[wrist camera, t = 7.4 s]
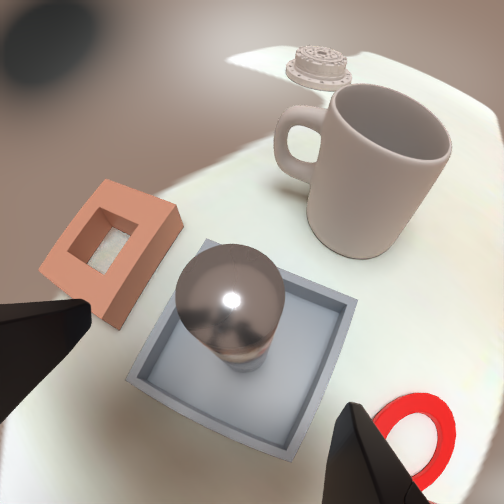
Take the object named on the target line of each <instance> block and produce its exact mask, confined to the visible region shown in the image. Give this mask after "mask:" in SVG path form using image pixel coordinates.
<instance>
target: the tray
mask: <svg viewBox="0 0 504 504" xmlns="http://www.w3.org/2000/svg"><path fill="white" fill-rule="evenodd" d="M218 245H221V244H219V243H217V242H214V241H212V240H209V239H207V238H206V240H205V242H204V243H203V245H202V246H201V248H200V250H199V251H198V253H197V255H198V254H199V253H201V252H203V251H205V250H207V249H209V248H211V247H214V246H218ZM197 255H196V256H197ZM277 269H278V270H279V272H280V274H281V276H282V279H283V282H284V287H285V304H284V308H283V312H282V315H281V318H280V320H279V323H278V326H277V329H276V332H275V335H274V338H273V340H272V343H271V346H270V349H269V352H268V354H267V357H266V359H265V361H264V363H263V364H262V366H260V367H259V368H258V369H256V370H255V371H252V372H247V373H242V372H237V371H235V370H233V369H231V368H230V367H229V366H228V365H226V364H225V363H224V362H223V361H222V360H220V359H219V358H218V357H217V356H216V355H215V354H213V353H212V352H211V351H210V350H209V349H208V348H207V347H205V346H204V345H203V344H202V343H201V342H200V341H199V340H198V339H196V338H195V337H194V336H193V335H192V334H191V333H190V332H189V331H188V330H187V329H186V328H185V326H184V325H183V323H182V322H181V320H180V317H179V315H178V312H177V309H176V303H175V292H176V290H175V291H174V293H173V295H172V296H171V298H170V300H169V302H168V303H167V305H166V307H165V308H164V310H163V312H162V314H161V315H160V317H159V319H158V321H157V322H156V324H155V326H154V328H153V330H152V331H151V333H150V335H149V337H148V338H147V340H146V342H145V344H144V346H143V347H142V349H141V351H140V353H139V355H138V357H137V358H136V360H135V362H134V364H133V366H132V368H131V370H130V371H129V373H128V375H127V377H126V379H125V381H127V382H128V383H130V384H131V385H133V386H135V387H136V388H138V389H139V390H141V391H142V392H144V393H145V394H147V395H149V396H150V397H152V398H154V399H155V400H157V401H159V402H160V403H162V404H164V405H165V406H167V407H169V408H171V409H172V410H174V411H176V412H178V413H180V414H181V415H183V416H185V417H187V418H189V419H191V420H193V421H195V422H197V423H199V424H200V425H202V426H204V427H206V428H209V429H211V430H213V431H215V432H217V433H219V434H221V435H223V436H225V437H228V438H230V439H232V440H234V441H237V442H239V443H241V444H244V445H246V446H248V447H251V448H253V449H256V450H258V451H261V452H264V453H266V454H269V455H271V456H274V457H277V458H280V459H283V460H285V461H288V462H292V460H293V459H294V457H295V455H296V453H297V451H298V449H299V447H300V445H301V443H302V441H303V439H304V437H305V435H306V432H307V430H308V428H309V426H310V424H311V422H312V420H313V417H314V415H315V413H316V411H317V409H318V406H319V404H320V402H321V399H322V397H323V395H324V392H325V390H326V387H327V385H328V383H329V380H330V378H331V375H332V373H333V370H334V367H335V365H336V362H337V360H338V357H339V354H340V352H341V349H342V346H343V343H344V341H345V338H346V335H347V332H348V329H349V326H350V323H351V320H352V317H353V314H354V311H355V308H356V305H357V301H358V300H357V299H354V298H352V297H349V296H347V295H345V294H342V293H340V292H337V291H335V290H332V289H330V288H327V287H325V286H322V285H320V284H317V283H315V282H312V281H310V280H307V279H305V278H302V277H300V276H298V275H295V274H293V273H290V272H288V271H285V270H283V269H280V268H278V267H277Z"/></svg>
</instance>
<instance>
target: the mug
mask: <svg viewBox="0 0 504 504" xmlns="http://www.w3.org/2000/svg"><path fill="white" fill-rule="evenodd" d="M295 125H300V126H305V127H308V128H310V129H312V130H314V131H316V132H318V133H319V134H320V135H321V145H320V150H319V155H318V159H317V162H315V163H309V162H304V161H301V160H298V159H296V158H295V157H293V156H292V155H291V153H290V152H289V149H288V146H287V137H288V132H289V130H290V128H291V127H293V126H295ZM451 151H452V143H451V139H450V136H449V134H448V132H447V130H446V128H445V127H444V125H443V124H442V123H441V122H440V120H439V119H438V118H437V117H436V116H435V115H434V114H433V113H432V112H431V111H429V110H428V109H427V108H426V107H424V106H423V105H422V104H420V103H419V102H417V101H416V100H414V99H412V98H410V97H409V96H407V95H405V94H402V93H400V92H398V91H395V90H393V89H390V88H386V87H383V86H378V85H373V84H350V85H346V86H343V87H341V88H339V89H338V90H337V91H336V92H335V93H334V94H333V96H332V97H331V100H330V104H329V107H328V109H324V108H318V107H313V106H306V105H296V106H292V107H289V108H288V109H286V110H285V111H284V112H283V113H282V115H281V116H280V118H279V120H278V123H277V125H276V129H275V133H274V155H275V159H276V162H277V164H278V166H279V168H280V169H281V170H282V171H283V172H284V173H286V174H287V175H289V176H291V177H293V178H296V179H298V180H301V181H304V182H306V183H309V184H310V185H311V186H310V192H309V196H308V201H307V217H308V221H309V224H310V226H311V228H312V230H313V232H314V233H315V235H316V236H317V237H318V239H319V240H320V241H321V242H322V243H323V244H325V245H326V246H327V247H328V248H330V249H331V250H333V251H335V252H336V253H339V254H341V255H344V256H347V257H351V258H357V259H367V258H372V257H376V256H378V255H380V254H382V253H384V252H385V251H386V250H388V249H389V248H390V247H391V246H392V244H393V243H394V242H395V241H396V239H397V238H398V236H399V235H400V233H401V232H402V230H403V229H404V227H405V226H406V224H407V223H408V222H409V220H410V219H411V217H412V216H413V214H414V213H415V212H416V210H417V209H418V207H419V206H420V204H421V203H422V201H423V200H424V198H425V197H426V195H427V194H428V192H429V191H430V189H431V188H432V186H433V184H434V183H435V181H436V180H437V178H438V177H439V175H440V173H441V172H442V170H443V168H444V167H445V165H446V163H447V162H448V160H449V158H450V155H451Z"/></svg>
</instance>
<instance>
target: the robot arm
mask: <svg viewBox="0 0 504 504" xmlns="http://www.w3.org/2000/svg"><path fill="white" fill-rule="evenodd" d="M91 323H92V318H91V305H90V303H89V302H87V301H85V300H84V299H68V300H56V301H43V302H30V303H15V304H0V424H1V423H2V422H3V421H4V420H5V419H6V418H7V417H8V415H9V414H10V413H11V412H12V411H13V410H14V409H15V408H16V407H17V406H18V405H19V404H20V403H21V402H22V401H23V399H24V398H25V397H26V396H27V395H28V394H29V393H30V392H31V391H32V390H33V389H34V388H35V387H36V386H37V385H38V384H39V383H40V382H41V381H42V380H43V379H44V378H45V377H46V376H47V375H48V374H49V373H50V372H51V371H52V370H53V369H54V368H55V367H56V366H57V365H58V364H59V363H60V362H61V361H62V360H63V359H64V358H65V357H66V356H67V355H68V354H69V352H70V351H71V350H72V349H73V348H74V346H75V345H76V344H77V343H78V342H79V340H80V339H81V338H82V337H83V336H84V334H85V333H86V332H87V331H88V330H89V328H90V327H91ZM322 504H430V502H429V501H428V500H427V499H426V497H425V496H424V494H423V493H422V492H421V490H420V489H419V487H418V486H417V485H416V483H415V482H414V481H413V479H412V477H411V476H410V474H409V473H408V472H407V470H406V469H405V467H404V466H403V464H402V463H401V461H400V460H399V458H398V457H397V456H396V454H395V453H394V451H393V450H392V448H391V447H390V445H389V444H388V442H387V441H386V440H385V438H384V437H383V435H382V434H381V432H380V431H379V429H378V428H377V427H376V425H375V424H374V422H373V421H372V419H371V418H370V416H369V415H368V413H367V412H366V411H365V409H364V408H363V406H362V405H361V404H358V403H354V402H348V403H347V404H346V406H345V407H344V409H343V410H342V412H341V413H340V415H339V417H338V418H337V420H336V422H335V426H334V431H333V436H332V441H331V446H330V450H329V455H328V460H327V464H326V472H325V482H324V490H323V498H322Z"/></svg>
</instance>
